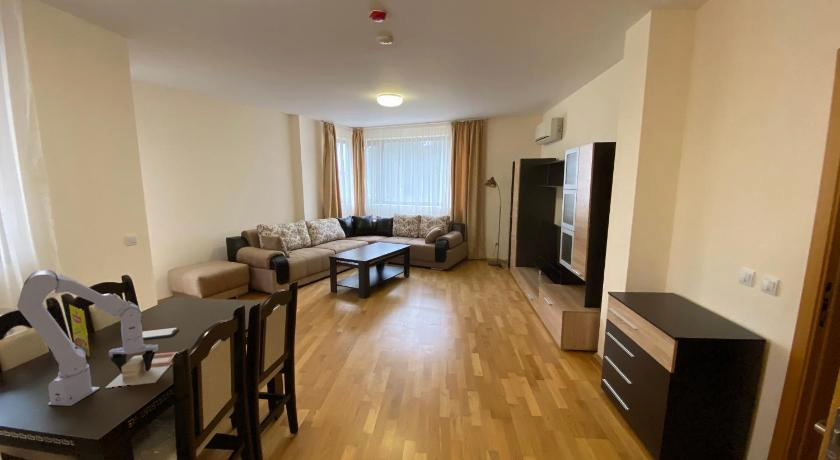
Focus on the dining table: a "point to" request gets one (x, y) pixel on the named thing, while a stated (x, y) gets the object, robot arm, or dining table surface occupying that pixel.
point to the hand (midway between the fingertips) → (136, 371)
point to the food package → (79, 328)
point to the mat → (148, 377)
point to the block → (133, 369)
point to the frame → (163, 361)
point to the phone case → (159, 333)
